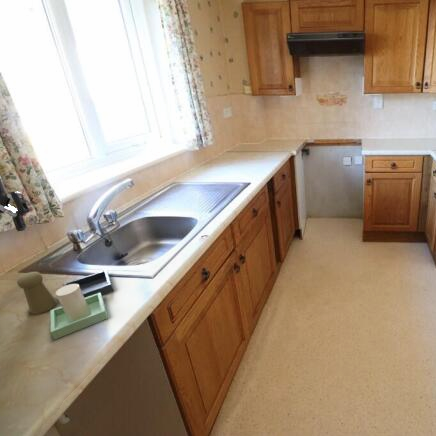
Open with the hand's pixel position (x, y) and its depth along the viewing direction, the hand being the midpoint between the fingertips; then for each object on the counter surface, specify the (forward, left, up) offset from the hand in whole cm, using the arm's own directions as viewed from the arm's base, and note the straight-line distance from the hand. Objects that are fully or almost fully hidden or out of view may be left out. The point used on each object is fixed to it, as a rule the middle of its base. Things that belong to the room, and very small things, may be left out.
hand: (3, 235), depth 86 cm
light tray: (+10, -19, -22) cm, 30 cm away
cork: (+2, -6, -22) cm, 22 cm away
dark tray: (+13, -6, -22) cm, 26 cm away
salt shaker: (+10, -19, -21) cm, 30 cm away
